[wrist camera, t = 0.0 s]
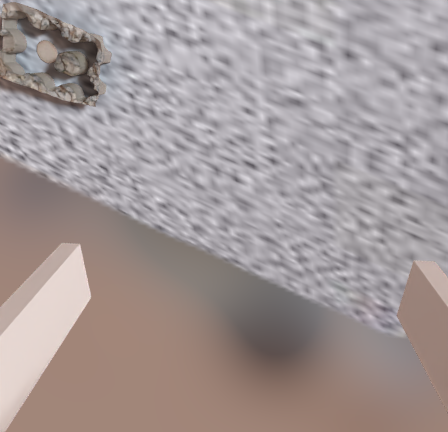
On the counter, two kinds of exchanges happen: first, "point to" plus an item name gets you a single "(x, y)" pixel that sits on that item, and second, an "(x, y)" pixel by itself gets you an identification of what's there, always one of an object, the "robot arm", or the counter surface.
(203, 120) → the counter surface
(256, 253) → the counter surface
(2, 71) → the egg carton
